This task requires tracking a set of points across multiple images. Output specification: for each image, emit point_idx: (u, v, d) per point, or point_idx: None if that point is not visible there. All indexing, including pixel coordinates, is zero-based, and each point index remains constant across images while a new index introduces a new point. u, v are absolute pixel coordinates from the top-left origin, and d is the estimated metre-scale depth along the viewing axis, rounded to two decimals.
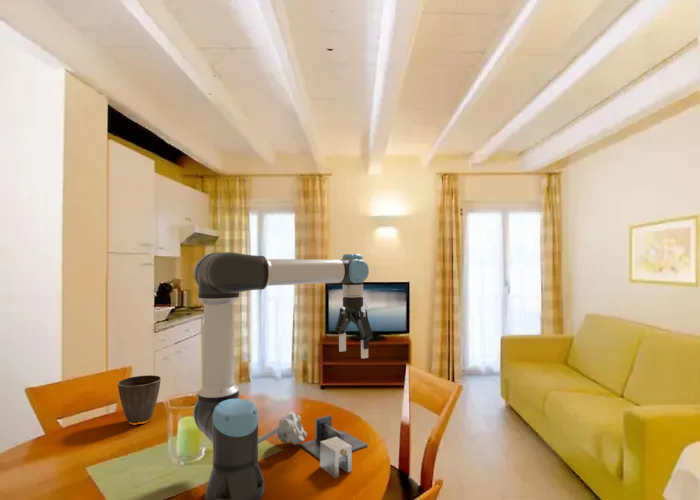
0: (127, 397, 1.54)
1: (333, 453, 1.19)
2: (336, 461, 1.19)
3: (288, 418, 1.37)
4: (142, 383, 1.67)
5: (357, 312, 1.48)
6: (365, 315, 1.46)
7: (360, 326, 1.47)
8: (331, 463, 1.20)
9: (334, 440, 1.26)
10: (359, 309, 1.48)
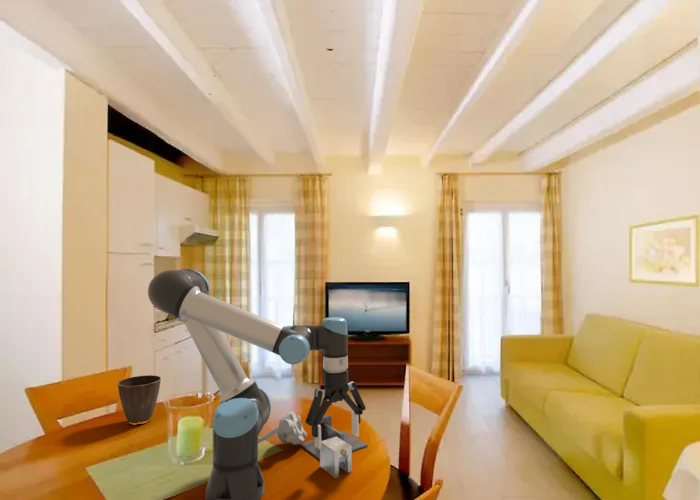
0: (127, 397, 1.54)
1: (333, 453, 1.19)
2: (336, 461, 1.19)
3: (288, 418, 1.37)
4: (142, 383, 1.67)
5: None
6: (317, 396, 1.20)
7: (320, 407, 1.22)
8: (331, 463, 1.20)
9: (334, 440, 1.26)
10: (325, 387, 1.22)
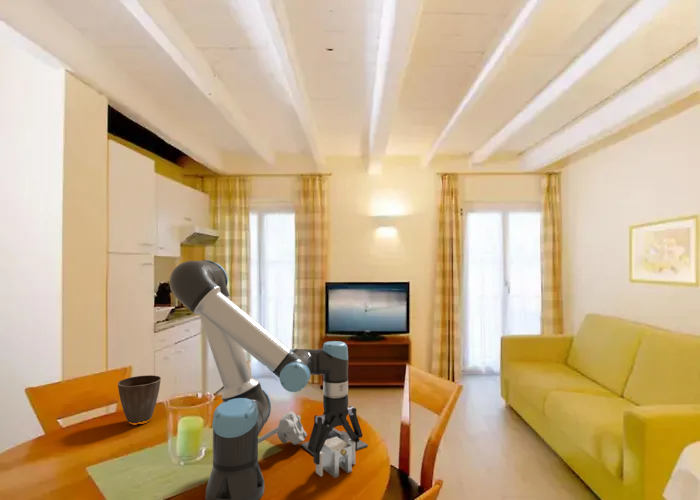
0: (127, 397, 1.54)
1: (333, 453, 1.19)
2: (336, 461, 1.19)
3: (288, 418, 1.37)
4: (142, 383, 1.67)
5: None
6: (317, 422, 1.20)
7: (320, 433, 1.22)
8: (331, 463, 1.20)
9: (334, 440, 1.26)
10: (325, 412, 1.22)
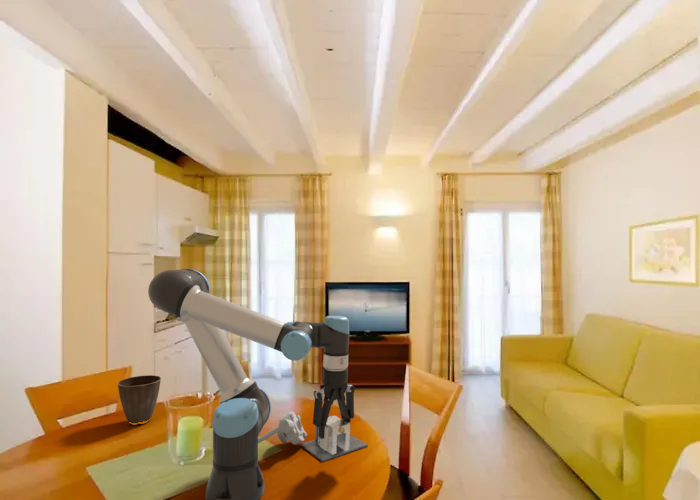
0: (127, 397, 1.54)
1: (331, 430, 1.19)
2: (334, 438, 1.19)
3: (288, 418, 1.37)
4: (142, 383, 1.67)
5: None
6: (317, 398, 1.20)
7: (323, 408, 1.23)
8: (329, 440, 1.20)
9: (332, 418, 1.26)
10: (324, 385, 1.22)
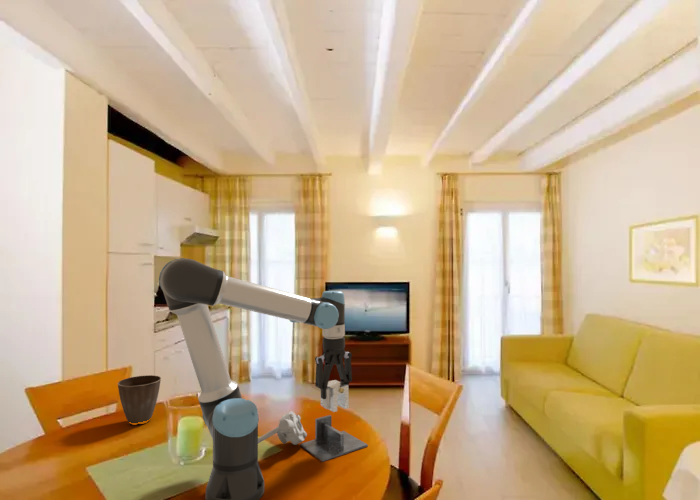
0: (127, 397, 1.54)
1: (332, 391, 1.35)
2: (335, 397, 1.35)
3: (288, 418, 1.37)
4: (142, 383, 1.67)
5: None
6: (318, 363, 1.35)
7: (324, 372, 1.38)
8: (330, 400, 1.36)
9: (333, 382, 1.41)
10: (324, 351, 1.37)
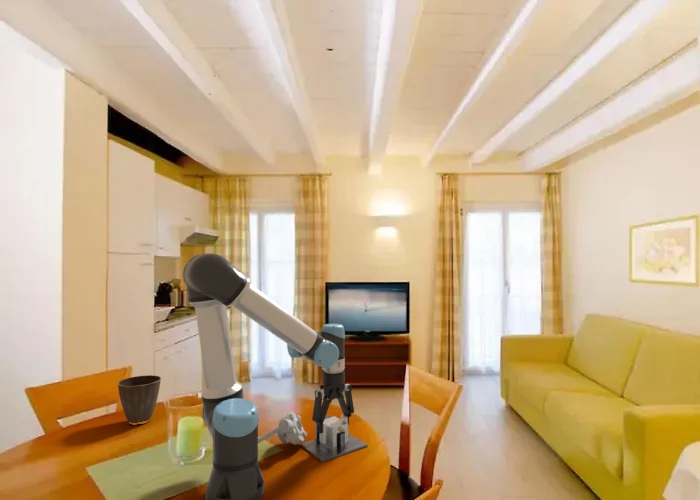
0: (127, 397, 1.54)
1: (332, 430, 1.34)
2: (334, 436, 1.34)
3: (288, 418, 1.37)
4: (142, 383, 1.67)
5: None
6: (317, 396, 1.35)
7: (322, 406, 1.37)
8: (330, 438, 1.35)
9: (332, 419, 1.41)
10: (324, 386, 1.37)
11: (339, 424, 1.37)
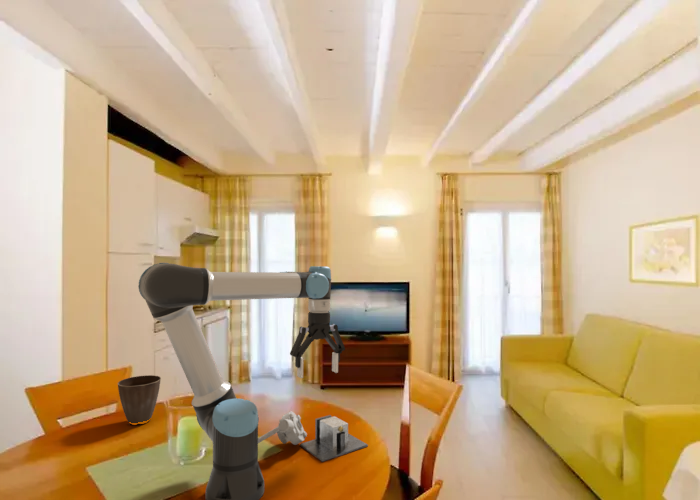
0: (127, 397, 1.54)
1: (332, 430, 1.34)
2: (334, 436, 1.34)
3: (288, 418, 1.37)
4: (142, 383, 1.67)
5: None
6: (301, 331, 1.36)
7: (303, 343, 1.38)
8: (330, 438, 1.35)
9: (332, 419, 1.41)
10: (309, 325, 1.39)
11: (339, 424, 1.37)
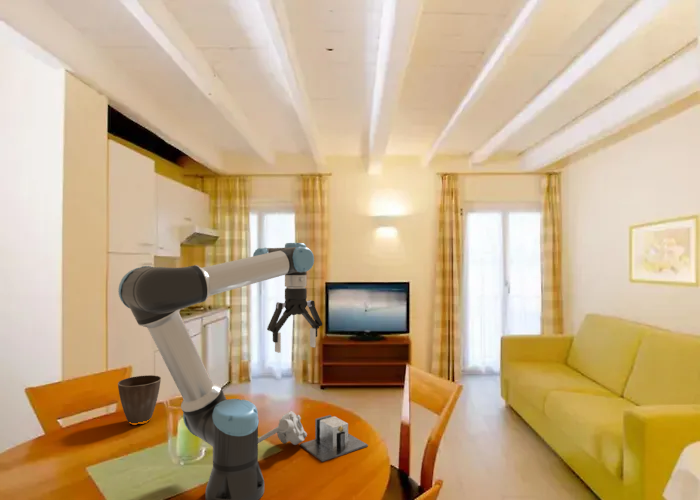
0: (127, 397, 1.54)
1: (332, 430, 1.34)
2: (334, 436, 1.34)
3: (288, 418, 1.37)
4: (142, 383, 1.67)
5: None
6: (278, 307, 1.38)
7: (280, 318, 1.40)
8: (330, 438, 1.35)
9: (332, 419, 1.41)
10: (286, 301, 1.41)
11: (339, 424, 1.37)
